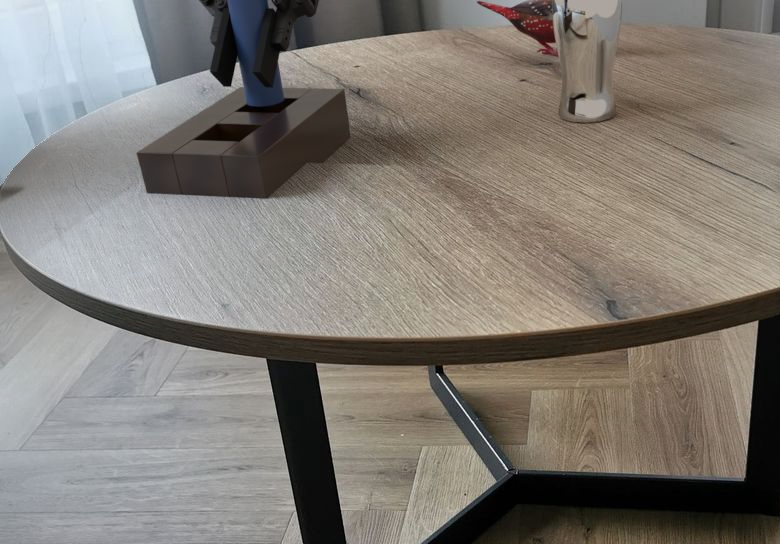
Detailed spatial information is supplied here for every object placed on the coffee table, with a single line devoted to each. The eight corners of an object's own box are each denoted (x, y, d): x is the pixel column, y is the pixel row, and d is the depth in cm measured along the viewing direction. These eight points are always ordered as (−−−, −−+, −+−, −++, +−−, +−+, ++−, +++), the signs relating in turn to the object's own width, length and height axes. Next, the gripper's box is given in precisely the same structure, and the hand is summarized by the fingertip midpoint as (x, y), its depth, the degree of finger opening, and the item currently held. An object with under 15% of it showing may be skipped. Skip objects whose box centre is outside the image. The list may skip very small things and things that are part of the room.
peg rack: (149, 206, 85) (135, 152, 83) (248, 133, 102) (239, 86, 99) (268, 211, 83) (258, 156, 80) (351, 136, 99) (344, 88, 97)
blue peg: (240, 106, 92) (214, -26, 86) (256, 95, 95) (233, -34, 89) (274, 107, 91) (251, -27, 85) (290, 96, 94) (268, -34, 88)
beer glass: (634, 115, 100) (637, -38, 93) (579, 129, 97) (578, -28, 90) (594, 100, 106) (594, -46, 98) (541, 113, 103) (537, -36, 95)
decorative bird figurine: (599, 62, 119) (599, -23, 114) (474, 52, 126) (469, -28, 121) (608, 56, 121) (608, -28, 116) (484, 47, 128) (479, -32, 123)
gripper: (379, -114, 95) (340, 101, 90) (227, -109, 99) (181, 98, 93) (353, -172, 88) (309, 59, 83) (190, -164, 91) (138, 57, 86)
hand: (241, 79), depth 88 cm, fingers closed on blue peg, 4 cm apart
